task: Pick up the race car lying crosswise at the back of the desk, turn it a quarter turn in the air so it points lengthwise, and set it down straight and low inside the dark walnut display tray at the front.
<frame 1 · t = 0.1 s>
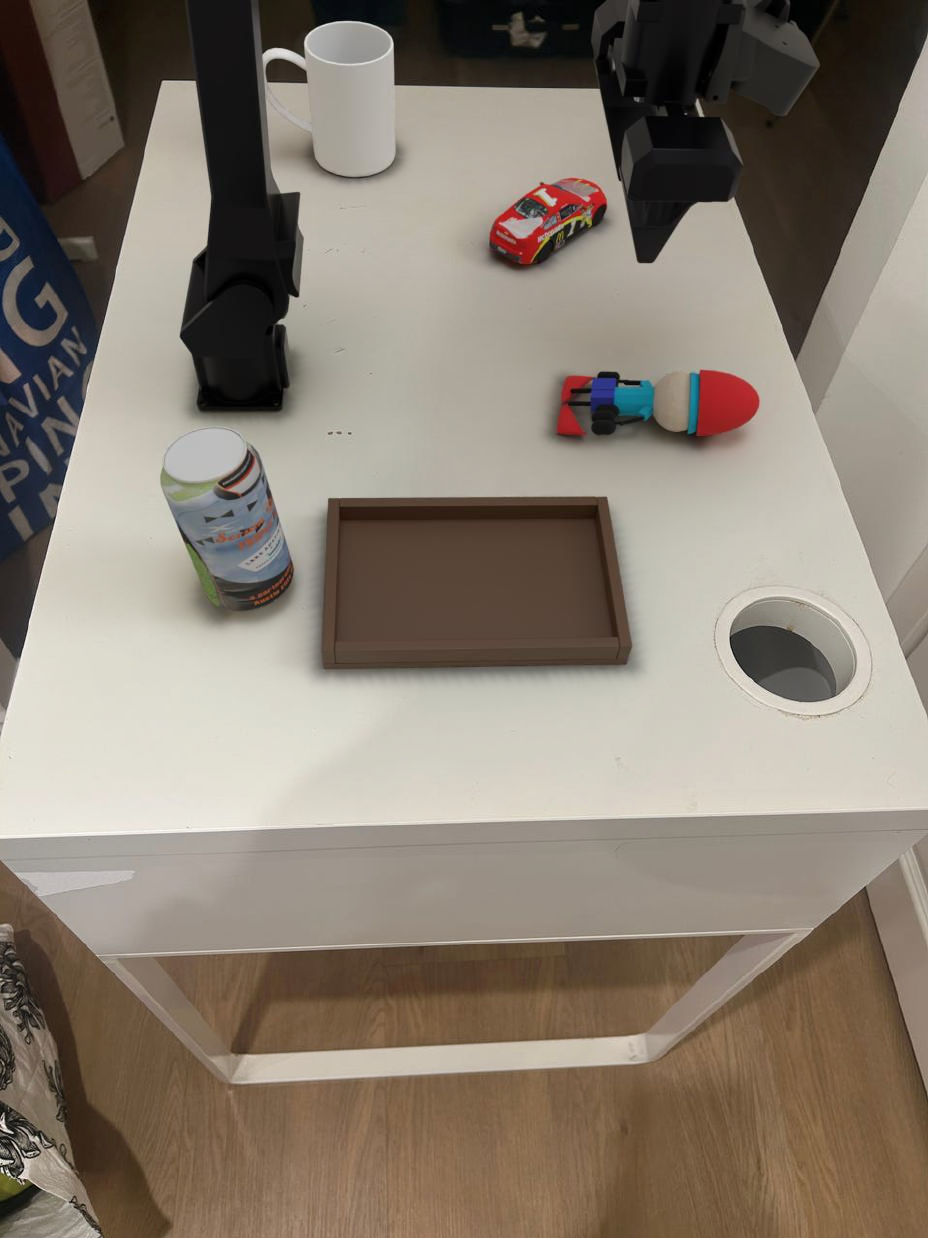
hand: (635, 219, 66), 15 cm above the table, tool pointing down, fingers open, 9 cm apart
toy figure: (652, 421, 76), on the table
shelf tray: (471, 587, 66), on the table
mug: (333, 157, 95), on the table
beverage can: (244, 582, 66), on the table
race car: (548, 234, 89), on the table
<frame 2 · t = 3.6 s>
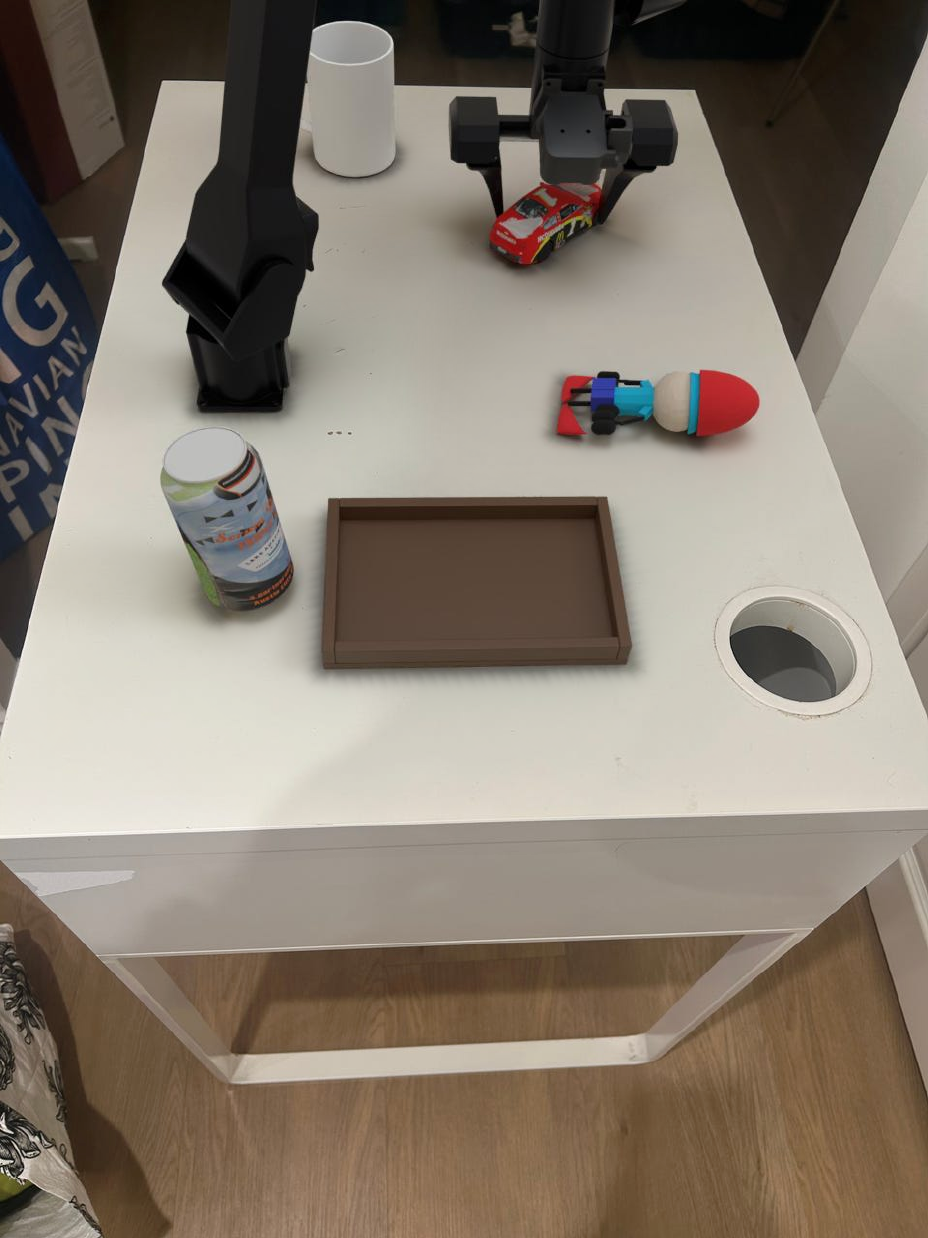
hand: (549, 221, 88), 1 cm above the table, tool pointing down
race car: (548, 234, 89), on the table, touching gripper
everything else where it was.
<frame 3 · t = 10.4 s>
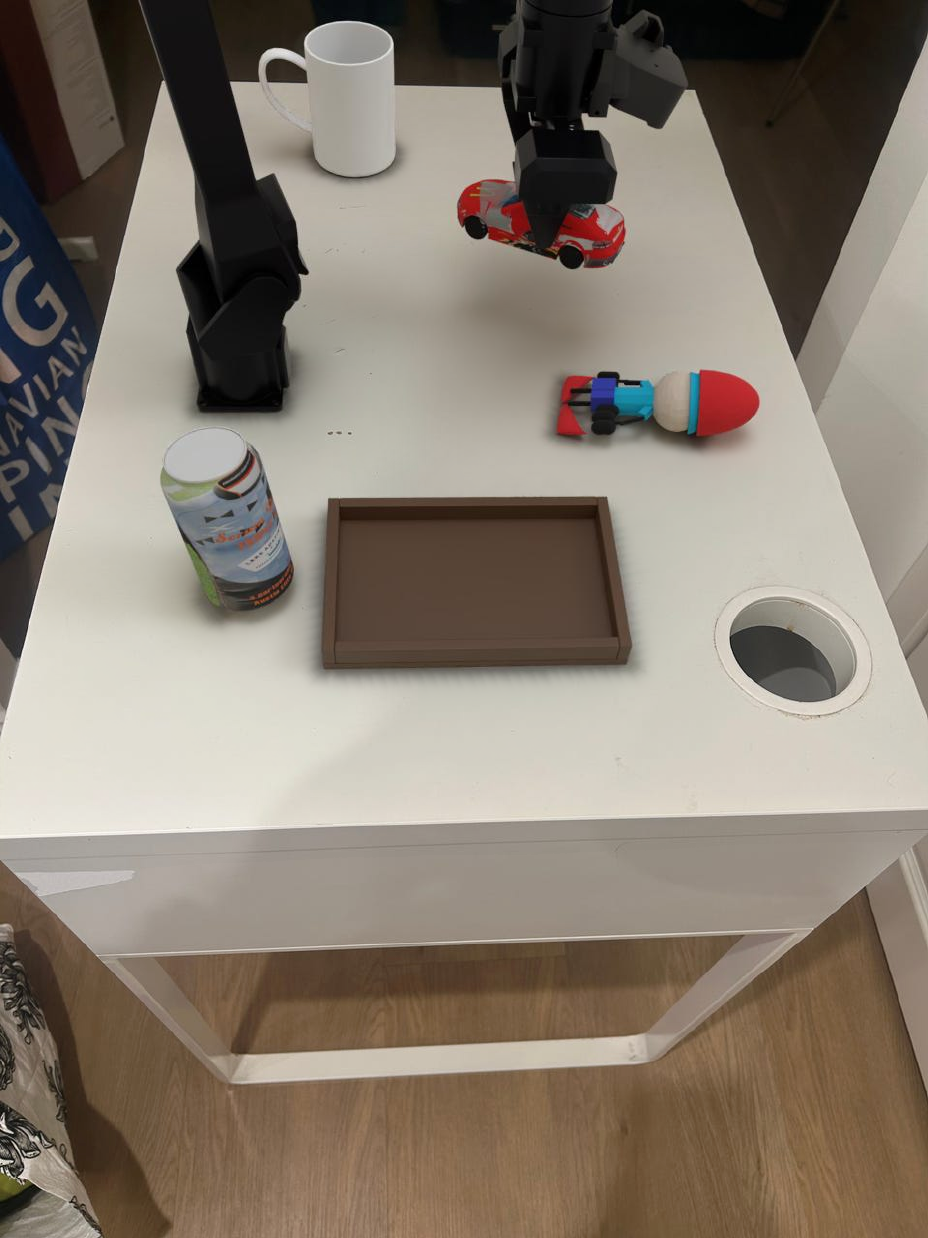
hand: (538, 219, 74), 10 cm above the table, tool pointing down, fingers closed on race car, 6 cm apart
race car: (537, 239, 75), point 8 cm above the table, touching gripper
everything else where it was.
when the fingers open (2 cm above the table, at t = 16.8 s): race car stays where it is, resting on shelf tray.
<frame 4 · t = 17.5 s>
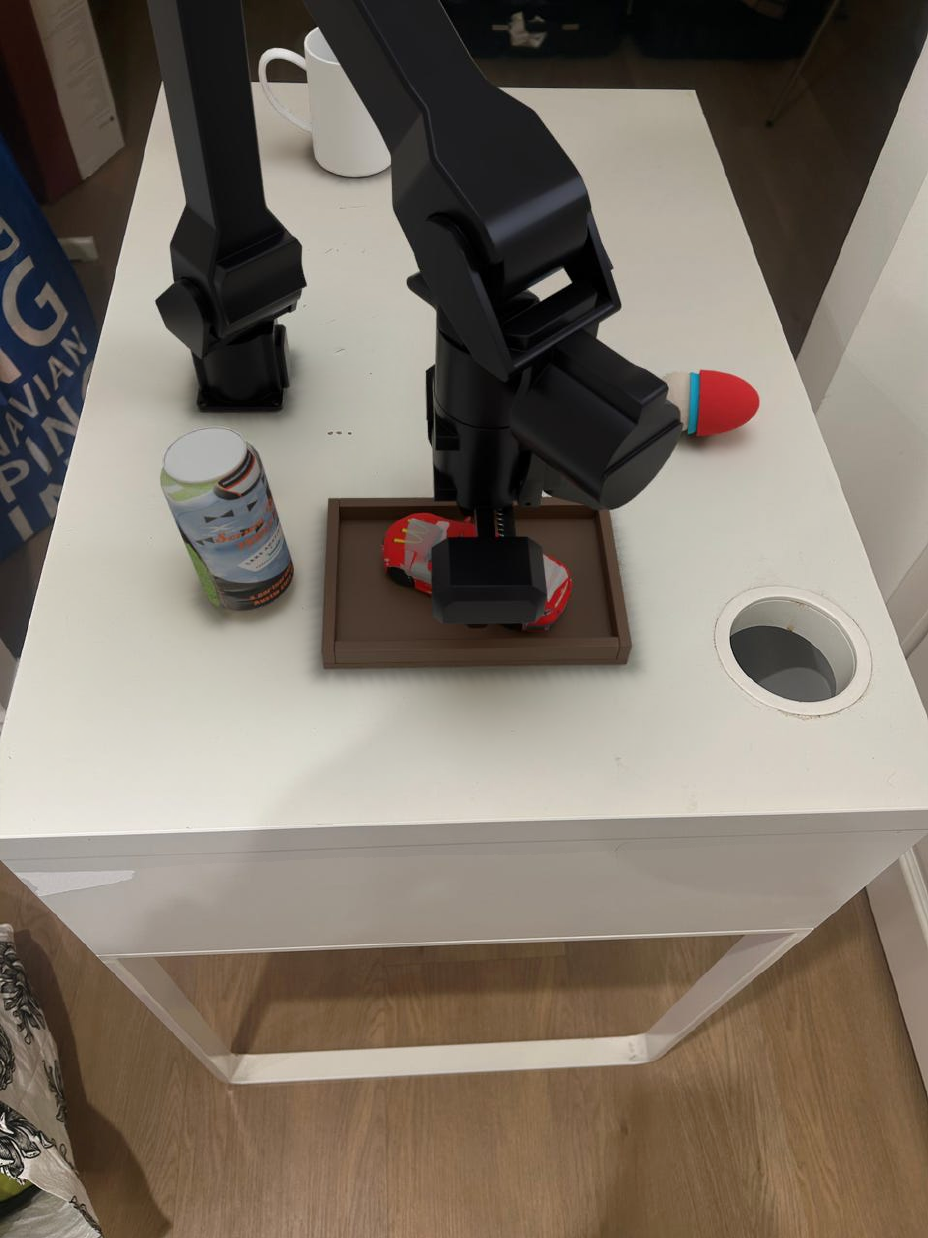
hand: (473, 568, 65), 2 cm above the table, tool pointing down, fingers open, 9 cm apart
race car: (472, 583, 66), resting on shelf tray
everything else where it was.
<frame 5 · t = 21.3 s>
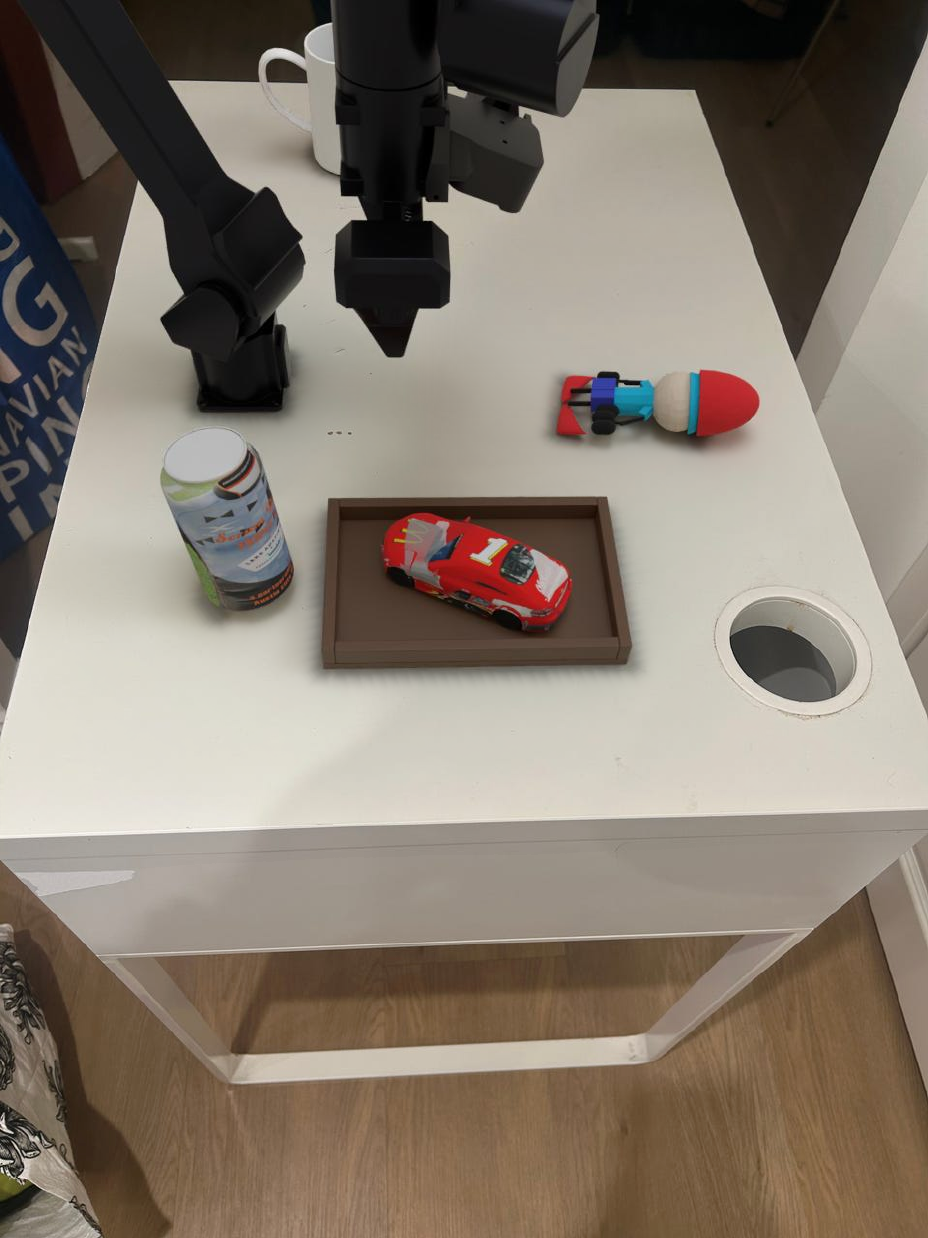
hand: (394, 308, 64), 12 cm above the table, tool pointing down, fingers open, 9 cm apart
nothing on the table moved.
at the end: race car 0.1 cm off-centre in the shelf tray, point 0.4 cm above the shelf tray's base; race car touching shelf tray; the gripper is holding nothing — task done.
